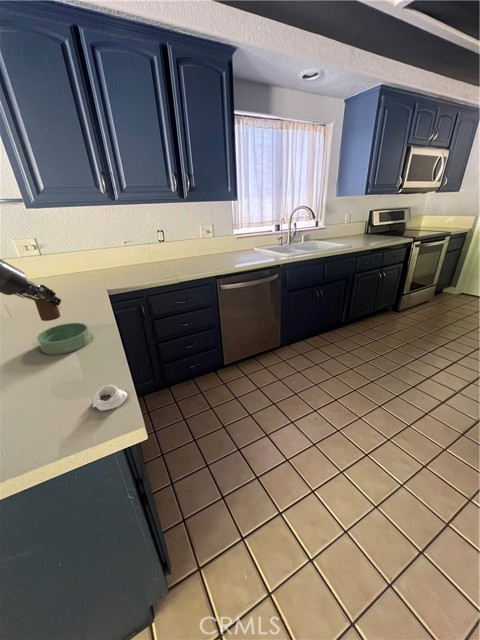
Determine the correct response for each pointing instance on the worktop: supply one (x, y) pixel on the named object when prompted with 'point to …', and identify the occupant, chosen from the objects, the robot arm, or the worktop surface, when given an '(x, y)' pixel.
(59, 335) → the bowl
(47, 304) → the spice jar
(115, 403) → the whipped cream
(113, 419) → the worktop surface
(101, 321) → the worktop surface
